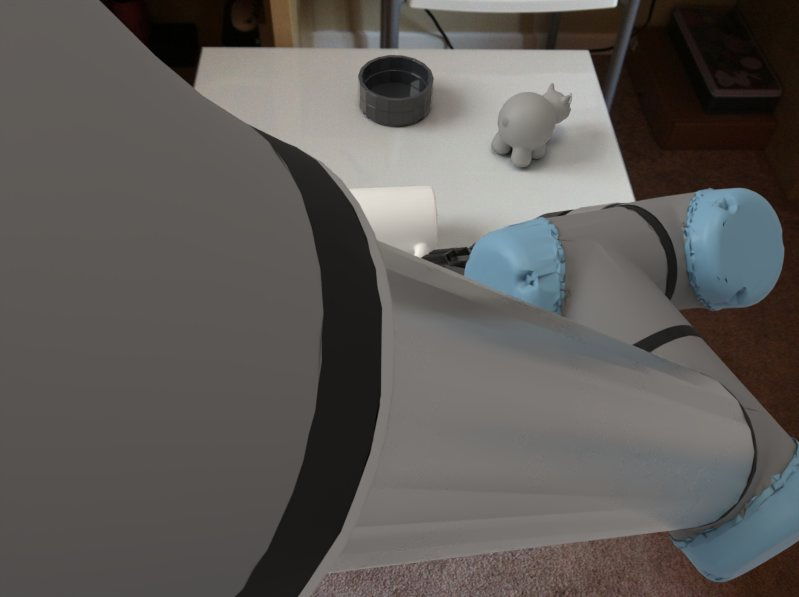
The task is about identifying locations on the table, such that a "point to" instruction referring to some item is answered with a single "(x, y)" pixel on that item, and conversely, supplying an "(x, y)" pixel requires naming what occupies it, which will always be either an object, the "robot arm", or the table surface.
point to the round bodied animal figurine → (529, 124)
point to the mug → (402, 216)
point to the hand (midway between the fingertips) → (432, 264)
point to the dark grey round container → (395, 90)
